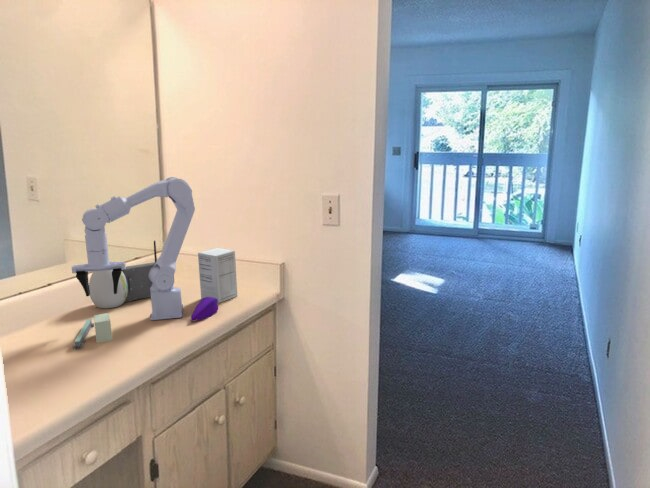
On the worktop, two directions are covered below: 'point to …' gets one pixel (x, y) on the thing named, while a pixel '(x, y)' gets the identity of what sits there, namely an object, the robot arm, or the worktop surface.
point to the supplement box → (218, 274)
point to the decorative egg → (107, 289)
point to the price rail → (83, 334)
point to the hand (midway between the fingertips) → (102, 294)
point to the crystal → (205, 308)
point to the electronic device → (139, 280)
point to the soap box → (103, 328)
